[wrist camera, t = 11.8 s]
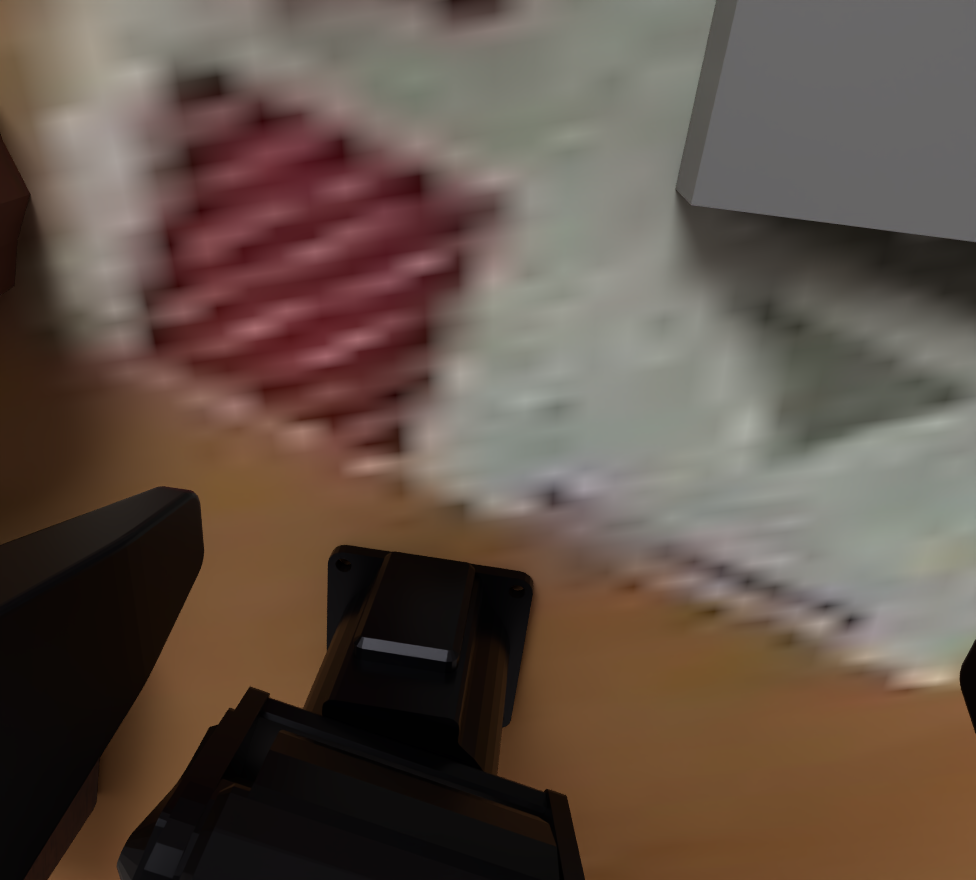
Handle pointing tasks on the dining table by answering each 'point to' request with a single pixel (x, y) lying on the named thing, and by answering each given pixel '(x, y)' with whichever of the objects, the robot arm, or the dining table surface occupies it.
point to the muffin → (10, 216)
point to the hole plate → (839, 114)
